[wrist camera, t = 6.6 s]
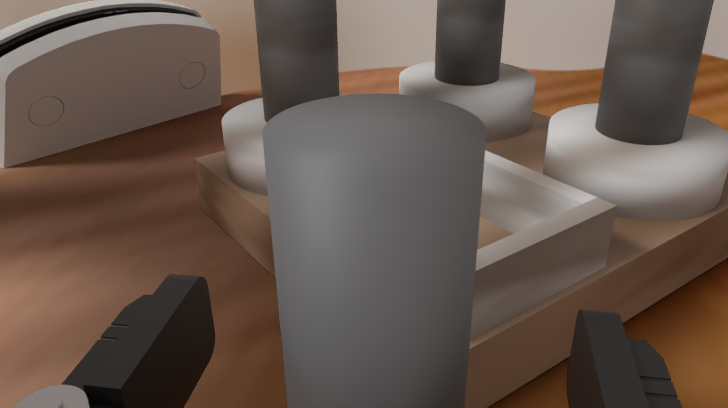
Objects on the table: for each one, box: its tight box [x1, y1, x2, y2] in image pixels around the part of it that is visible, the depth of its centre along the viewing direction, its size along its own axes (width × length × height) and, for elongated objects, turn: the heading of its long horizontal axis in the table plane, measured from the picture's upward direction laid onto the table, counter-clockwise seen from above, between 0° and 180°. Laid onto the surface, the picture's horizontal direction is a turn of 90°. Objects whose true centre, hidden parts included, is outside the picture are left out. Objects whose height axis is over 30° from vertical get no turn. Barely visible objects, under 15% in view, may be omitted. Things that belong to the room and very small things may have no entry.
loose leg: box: [262, 94, 487, 408], centre depth 13 cm, size 4×4×12 cm
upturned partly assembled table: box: [195, 0, 728, 408], centre depth 28 cm, size 19×19×15 cm
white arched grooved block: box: [0, 0, 221, 168], centre depth 43 cm, size 17×5×10 cm, turn 137°
